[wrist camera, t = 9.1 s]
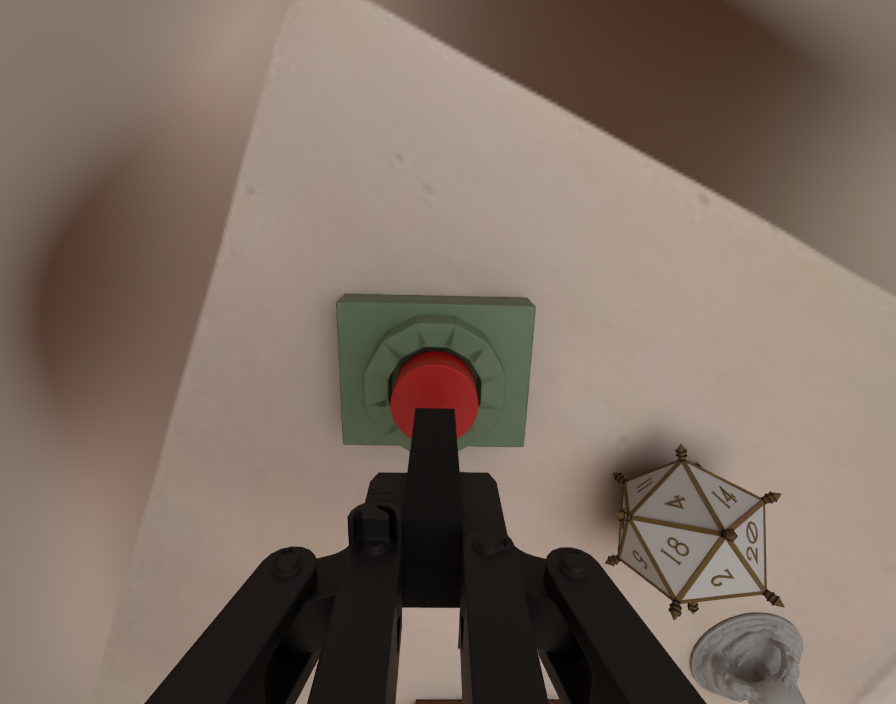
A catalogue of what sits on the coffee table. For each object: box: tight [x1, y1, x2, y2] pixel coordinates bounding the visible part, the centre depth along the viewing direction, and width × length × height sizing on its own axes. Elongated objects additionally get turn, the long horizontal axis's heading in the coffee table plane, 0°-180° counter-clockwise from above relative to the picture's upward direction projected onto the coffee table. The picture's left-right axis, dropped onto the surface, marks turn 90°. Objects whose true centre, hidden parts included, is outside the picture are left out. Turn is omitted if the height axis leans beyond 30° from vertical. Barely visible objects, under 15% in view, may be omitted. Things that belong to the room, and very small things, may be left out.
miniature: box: [691, 613, 806, 704], centre depth 31 cm, size 8×8×5 cm
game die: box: [605, 444, 784, 620], centre depth 25 cm, size 9×8×10 cm
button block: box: [336, 294, 536, 451], centre depth 24 cm, size 10×8×4 cm
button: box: [390, 351, 478, 439], centre depth 22 cm, size 4×4×2 cm
